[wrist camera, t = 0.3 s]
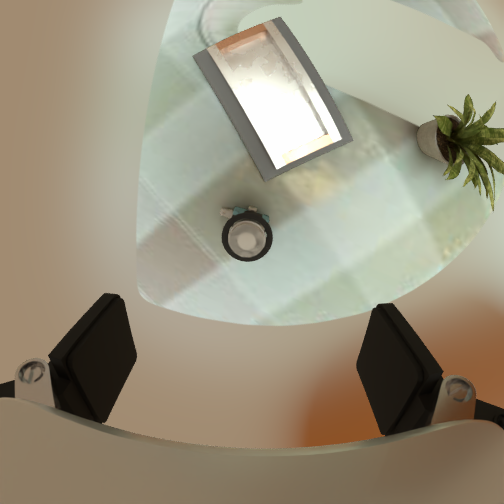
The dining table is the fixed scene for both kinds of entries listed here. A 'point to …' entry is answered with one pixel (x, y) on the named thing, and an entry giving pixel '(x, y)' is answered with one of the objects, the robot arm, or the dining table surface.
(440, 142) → the house plant
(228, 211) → the round cylindrical fitting
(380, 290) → the dining table surface
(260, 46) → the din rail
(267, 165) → the panel
